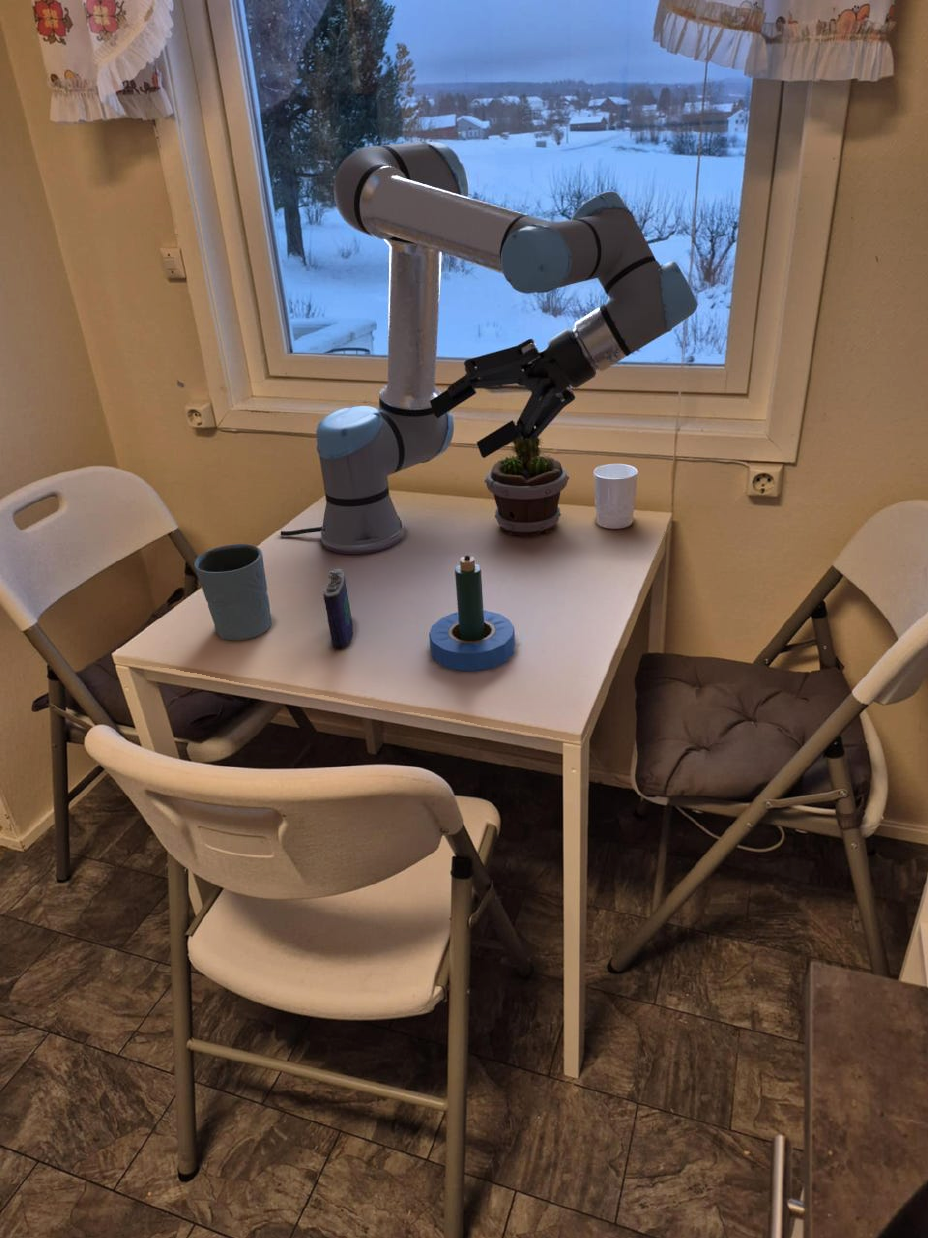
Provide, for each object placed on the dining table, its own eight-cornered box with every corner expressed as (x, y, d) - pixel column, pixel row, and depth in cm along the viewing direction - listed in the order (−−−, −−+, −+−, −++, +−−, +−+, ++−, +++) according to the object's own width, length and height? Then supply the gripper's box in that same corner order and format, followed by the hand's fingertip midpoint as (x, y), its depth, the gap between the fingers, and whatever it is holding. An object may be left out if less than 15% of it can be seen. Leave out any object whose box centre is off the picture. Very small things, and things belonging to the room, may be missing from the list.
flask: (337, 619, 134) (327, 557, 129) (355, 618, 134) (347, 556, 128) (330, 650, 126) (320, 586, 121) (350, 649, 126) (341, 585, 120)
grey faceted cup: (635, 531, 156) (637, 479, 151) (591, 530, 157) (592, 478, 152) (636, 514, 162) (638, 463, 157) (594, 513, 164) (595, 463, 159)
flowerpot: (566, 543, 153) (565, 434, 143) (481, 541, 156) (475, 434, 146) (571, 511, 165) (571, 409, 155) (493, 510, 168) (488, 409, 158)
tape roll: (415, 658, 122) (413, 641, 121) (459, 620, 131) (458, 603, 130) (488, 679, 117) (487, 661, 115) (528, 638, 125) (528, 620, 124)
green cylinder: (456, 651, 123) (448, 558, 116) (469, 640, 126) (462, 548, 119) (477, 657, 122) (471, 563, 114) (490, 645, 124) (485, 552, 117)
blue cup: (245, 648, 128) (229, 577, 122) (196, 635, 132) (178, 565, 126) (289, 617, 135) (276, 549, 129) (241, 605, 140) (226, 538, 134)
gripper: (557, 319, 105) (418, 411, 112) (625, 411, 126) (504, 484, 133) (538, 277, 108) (404, 369, 116) (607, 374, 129) (490, 446, 136)
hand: (457, 431), depth 125 cm, fingers open, 13 cm apart
